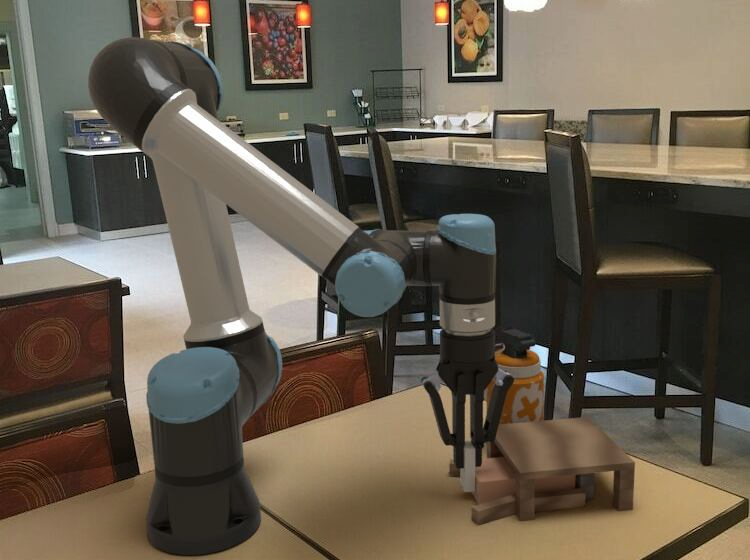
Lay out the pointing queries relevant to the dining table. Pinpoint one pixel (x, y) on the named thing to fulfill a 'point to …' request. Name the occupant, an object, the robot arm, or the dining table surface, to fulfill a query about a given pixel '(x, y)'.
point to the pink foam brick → (510, 481)
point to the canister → (519, 377)
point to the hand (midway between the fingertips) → (467, 487)
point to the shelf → (554, 467)
